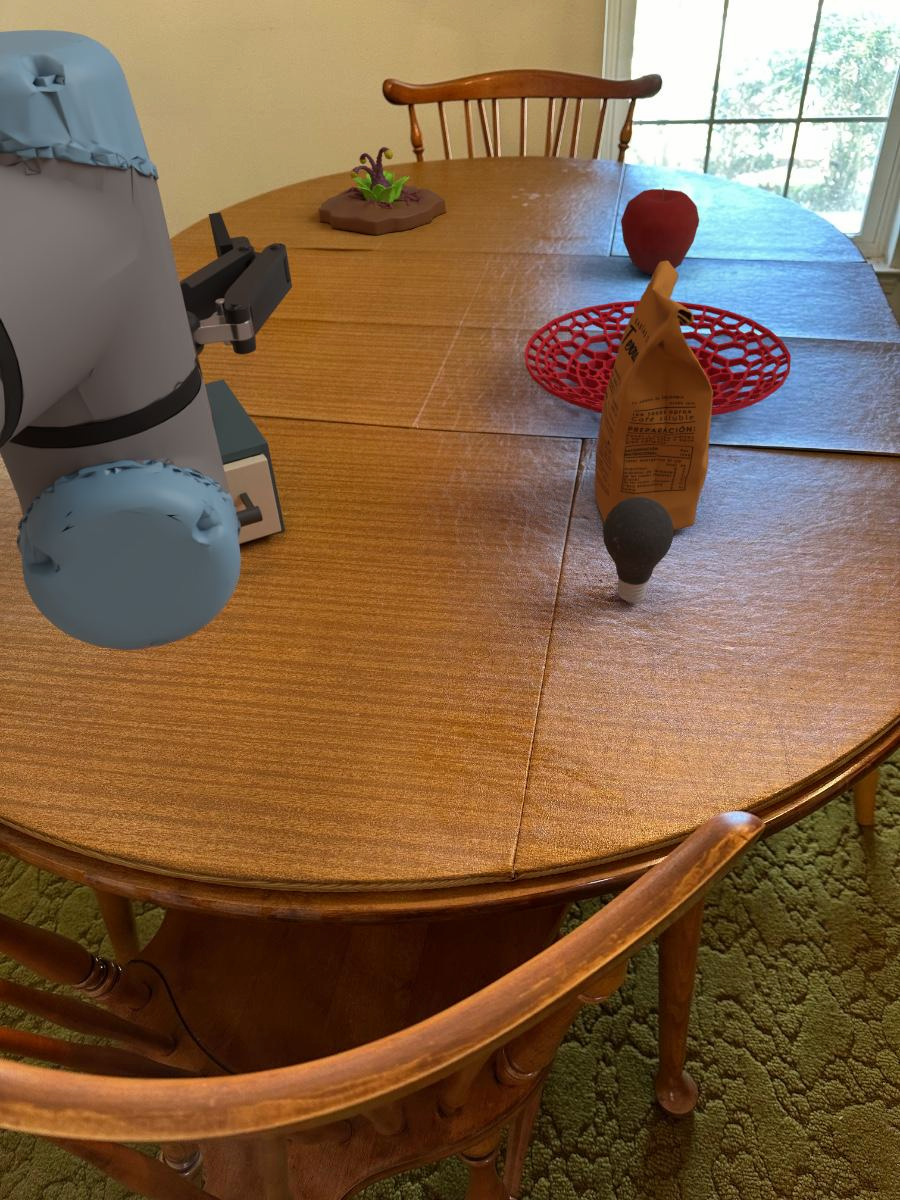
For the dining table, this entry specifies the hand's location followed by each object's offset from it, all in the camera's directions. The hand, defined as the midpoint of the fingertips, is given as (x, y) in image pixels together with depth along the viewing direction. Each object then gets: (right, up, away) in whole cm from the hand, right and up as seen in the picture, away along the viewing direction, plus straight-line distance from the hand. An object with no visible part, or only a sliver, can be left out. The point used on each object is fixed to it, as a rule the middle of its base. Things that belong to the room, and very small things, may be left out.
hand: (111, 249), depth 60 cm
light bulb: (+37, -23, +20) cm, 48 cm away
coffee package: (+41, -13, +32) cm, 53 cm away
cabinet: (-3, -14, +34) cm, 37 cm away
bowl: (+45, +2, +49) cm, 67 cm away
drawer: (-2, -15, +31) cm, 34 cm away
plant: (+10, +45, +104) cm, 114 cm away
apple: (+52, +26, +78) cm, 97 cm away
